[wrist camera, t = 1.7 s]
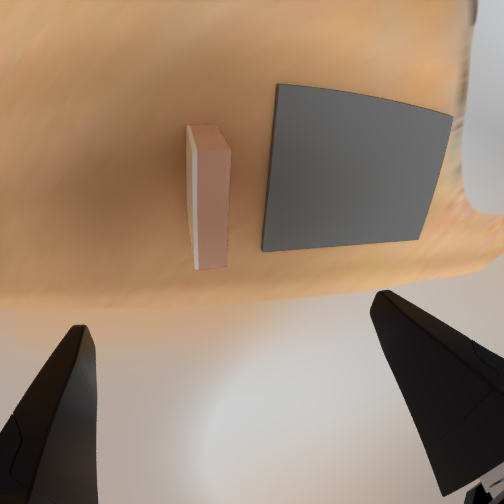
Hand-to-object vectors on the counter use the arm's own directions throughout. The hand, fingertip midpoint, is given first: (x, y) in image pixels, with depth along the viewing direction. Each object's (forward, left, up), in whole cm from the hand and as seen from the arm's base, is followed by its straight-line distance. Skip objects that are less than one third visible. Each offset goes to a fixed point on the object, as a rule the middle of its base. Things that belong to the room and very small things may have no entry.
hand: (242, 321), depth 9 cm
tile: (0, 0, -12) cm, 12 cm away
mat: (+11, 0, -11) cm, 16 cm away
